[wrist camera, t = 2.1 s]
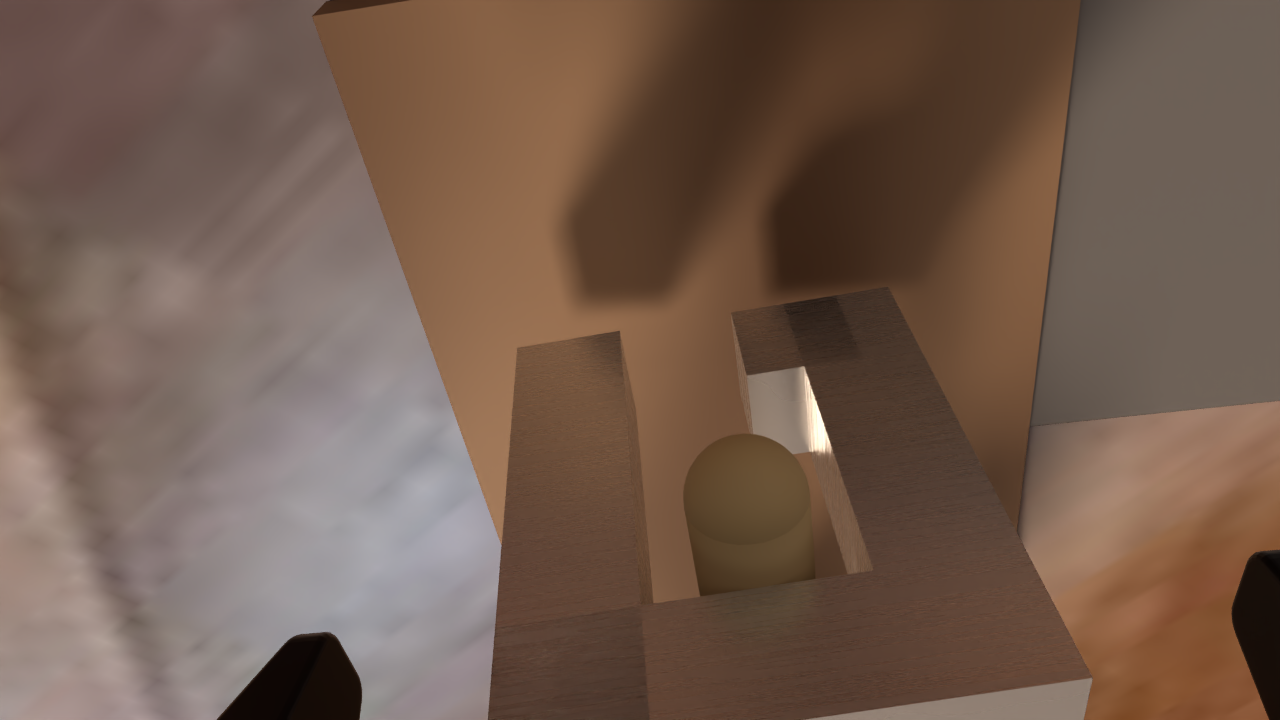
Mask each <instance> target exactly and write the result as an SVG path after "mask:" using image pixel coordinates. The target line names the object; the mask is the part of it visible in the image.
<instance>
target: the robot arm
mask: <svg viewBox="0 0 1280 720" xmlns="http://www.w3.org/2000/svg"><path fill="white" fill-rule="evenodd" d="M1232 622H1233V627H1234V630H1235V633H1236V636H1237V639H1238V641H1239V644H1240V646H1241V649H1242V652H1243V654H1244V657H1245V659H1246V662H1247V664H1248V667H1249V670H1250V672H1251V675H1252V677H1253V680H1254V682H1255V685H1256V688H1257V690H1258V693H1259V695H1260V698H1261V700H1262V703H1263V706H1264V708H1265V711H1266V713H1267V716H1268V718H1269V720H1280V550H1270V551H1260V552H1256V553H1254V554H1253V555H1252V556H1251V557H1250V558H1249V559H1248V561H1247V564H1246V567H1245V570H1244V573H1243V575H1242V578H1241V581H1240V584H1239V587H1238V590H1237V593H1236V596H1235V599H1234V602H1233V606H1232ZM361 703H362V687H361V682H360V678H359V676H358V674H357V672H356V670H355V668H354V667H353V665H352V663H351V661H350V660H349V658H348V656H347V654H346V652H345V651H344V649H343V647H342V645H341V644H340V642H339V640H338V639H337V637H336V636H335V635H333V634H331V633H330V632H321V633H309V634H300V635H296V636H294V637H292V638H291V639H289V640H288V641H287V642H286V643H285V644H284V645H283V646H282V647H281V648H280V649H279V651H278V652H277V653H276V654H275V655H274V656H273V657H272V658H271V659H270V661H269V662H268V663H267V664H266V665H265V666H264V667H263V668H262V670H261V671H260V672H259V673H258V674H257V675H256V676H255V677H254V678H253V680H252V681H251V682H250V683H249V684H248V685H247V686H246V687H245V688H244V690H243V691H242V692H241V693H240V694H239V695H238V696H237V697H236V699H235V700H234V701H233V702H232V703H231V704H230V705H229V706H228V707H227V709H226V710H225V711H224V712H223V713H222V714H221V715H220V716H219V717H218V719H217V720H359V719H360V711H361Z"/></svg>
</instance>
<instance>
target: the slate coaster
mask: <svg viewBox="0 0 1280 720" xmlns="http://www.w3.org/2000/svg"><path fill="white" fill-rule="evenodd" d="M1272 401H1280V0H1081V2H1080V10H1079V18H1078V27H1077V35H1076V43H1075V52H1074V60H1073V68H1072V77H1071V85H1070V93H1069V101H1068V110H1067V118H1066V126H1065V135H1064V143H1063V151H1062V160H1061V168H1060V176H1059V184H1058V193H1057V201H1056V209H1055V218H1054V226H1053V234H1052V243H1051V251H1050V259H1049V268H1048V276H1047V284H1046V292H1045V301H1044V309H1043V317H1042V326H1041V334H1040V342H1039V351H1038V359H1037V367H1036V376H1035V384H1034V392H1033V400H1032V409H1031V417H1030V425H1029V427H1030V426H1040V425H1049V424H1059V423H1069V422H1078V421H1088V420H1098V419H1107V418H1117V417H1127V416H1137V415H1146V414H1156V413H1166V412H1175V411H1185V410H1195V409H1204V408H1214V407H1224V406H1233V405H1243V404H1253V403H1263V402H1272Z"/></svg>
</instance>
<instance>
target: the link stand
mask: <svg viewBox="0 0 1280 720" xmlns="http://www.w3.org/2000/svg"><path fill="white" fill-rule="evenodd" d="M1080 2H1081V0H333V1H327V2H325V3H324V4H323V5H322V7H321V8H320V9H319V10H318V11H317V12H316V13H315V14H314V15H313V16H312V17H313V20H314V23H315V26H316V29H317V31H318V34H319V37H320V40H321V43H322V45H323V48H324V51H325V54H326V57H327V59H328V62H329V65H330V68H331V70H332V73H333V76H334V79H335V82H336V84H337V87H338V90H339V93H340V96H341V98H342V101H343V104H344V107H345V110H346V112H347V115H348V118H349V121H350V124H351V126H352V129H353V132H354V135H355V137H356V140H357V143H358V146H359V149H360V151H361V154H362V157H363V160H364V163H365V165H366V168H367V171H368V174H369V177H370V179H371V182H372V185H373V188H374V191H375V193H376V196H377V199H378V202H379V204H380V207H381V210H382V213H383V216H384V218H385V221H386V224H387V227H388V230H389V232H390V235H391V238H392V241H393V244H394V246H395V249H396V252H397V255H398V258H399V260H400V263H401V266H402V269H403V271H404V274H405V277H406V280H407V283H408V285H409V288H410V291H411V294H412V297H413V299H414V302H415V305H416V308H417V311H418V313H419V316H420V319H421V322H422V325H423V327H424V330H425V333H426V336H427V338H428V341H429V344H430V347H431V350H432V352H433V355H434V358H435V361H436V364H437V366H438V369H439V372H440V375H441V378H442V380H443V383H444V386H445V389H446V392H447V394H448V397H449V400H450V403H451V405H452V408H453V411H454V414H455V417H456V419H457V422H458V425H459V428H460V431H461V433H462V436H463V439H464V442H465V445H466V447H467V450H468V453H469V456H470V459H471V461H472V464H473V467H474V470H475V472H476V475H477V478H478V481H479V484H480V486H481V489H482V492H483V495H484V498H485V500H486V503H487V506H488V509H489V512H490V514H491V517H492V520H493V523H494V526H495V528H496V531H497V534H498V537H499V540H500V542H501V545H502V535H503V522H504V509H505V497H506V484H507V471H508V458H509V446H510V433H511V420H512V408H513V395H514V382H515V370H516V357H517V348H518V347H524V346H530V345H536V344H542V343H548V342H554V341H560V340H567V339H573V338H579V337H585V336H591V335H597V334H603V333H609V332H615V331H620V334H621V339H622V344H623V349H624V354H625V358H626V363H627V368H628V373H629V378H630V383H631V387H632V392H633V397H634V402H635V407H636V413H637V424H638V435H639V446H640V457H641V468H642V480H643V491H644V502H645V513H646V524H647V535H648V546H649V557H650V568H651V579H652V590H653V601H654V603H661V602H668V601H674V600H681V599H687V598H694V597H701V596H707V595H714V594H721V593H727V592H734V591H740V590H747V589H754V588H760V587H767V586H773V585H780V584H787V583H793V582H800V581H806V580H813V579H820V578H826V577H833V576H839V575H846V574H848V573H847V570H846V567H845V564H844V560H843V557H842V554H841V551H840V547H839V544H838V541H837V538H836V535H835V531H834V528H833V525H832V522H831V518H830V515H829V512H828V509H827V506H826V502H825V499H824V496H823V493H822V489H821V486H820V483H819V480H818V476H817V473H816V470H815V467H814V464H813V460H812V457H811V454H810V452H805V453H798V454H792V453H791V452H790V451H789V450H788V449H787V448H785V447H784V446H783V445H781V444H780V443H778V442H776V441H774V440H772V439H770V438H767V437H765V436H761V435H757V434H750V432H749V428H748V423H747V419H746V415H745V411H744V407H743V402H742V398H741V394H740V386H739V378H738V369H737V361H736V352H735V344H734V336H733V327H732V319H731V312H737V311H743V310H749V309H755V308H761V307H767V306H773V305H779V304H785V303H792V302H798V301H804V300H810V299H816V298H822V297H828V296H834V295H840V294H846V293H852V292H858V291H865V290H871V289H877V288H883V287H889V289H890V291H891V293H892V295H893V297H894V299H895V301H896V303H897V305H898V307H899V308H900V310H901V312H902V314H903V316H904V318H905V320H906V322H907V324H908V326H909V328H910V329H911V331H912V333H913V335H914V337H915V339H916V341H917V343H918V345H919V347H920V349H921V351H922V352H923V354H924V356H925V358H926V360H927V362H928V364H929V366H930V368H931V370H932V372H933V373H934V375H935V377H936V379H937V381H938V383H939V385H940V387H941V389H942V391H943V393H944V394H945V396H946V398H947V400H948V402H949V404H950V406H951V408H952V410H953V412H954V414H955V416H956V417H957V419H958V421H959V423H960V425H961V427H962V429H963V431H964V433H965V435H966V437H967V438H968V440H969V442H970V444H971V446H972V448H973V450H974V452H975V454H976V456H977V458H978V459H979V461H980V463H981V465H982V467H983V469H984V471H985V473H986V475H987V477H988V479H989V481H990V482H991V484H992V486H993V488H994V490H995V492H996V494H997V496H998V498H999V500H1000V502H1001V503H1002V505H1003V507H1004V509H1005V511H1006V513H1007V515H1008V517H1009V519H1010V521H1011V523H1012V524H1013V526H1014V528H1015V530H1016V532H1017V525H1018V517H1019V508H1020V500H1021V492H1022V484H1023V475H1024V467H1025V459H1026V450H1027V442H1028V434H1029V425H1030V417H1031V409H1032V400H1033V392H1034V384H1035V376H1036V367H1037V359H1038V351H1039V342H1040V334H1041V326H1042V317H1043V309H1044V301H1045V292H1046V284H1047V276H1048V268H1049V259H1050V251H1051V243H1052V234H1053V226H1054V218H1055V209H1056V201H1057V193H1058V184H1059V176H1060V168H1061V160H1062V151H1063V143H1064V135H1065V126H1066V118H1067V110H1068V101H1069V93H1070V85H1071V77H1072V68H1073V60H1074V52H1075V43H1076V35H1077V27H1078V18H1079V10H1080Z"/></svg>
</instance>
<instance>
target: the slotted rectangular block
mask: <svg viewBox="0 0 1280 720" xmlns="http://www.w3.org/2000/svg"><path fill="white" fill-rule="evenodd" d="M731 319H732V327H733V336H734V344H735V352H736V361H737V369H738V378H739V386H740V394H741V398H742V402H743V407H744V411H745V415H746V419H747V423H748V428H749V432H750V434H757V435H761V436H765V437H767V438H770V439H772V440H774V441H776V442H778V443H780V444H781V445H783V446H784V447H785V448H787V449H788V450H789V451H790V452H791V453H792V454H798V453H805V452H810V454H811V457H812V460H813V464H814V467H815V470H816V473H817V476H818V480H819V483H820V486H821V489H822V493H823V496H824V499H825V502H826V506H827V509H828V512H829V515H830V518H831V522H832V525H833V528H834V531H835V535H836V538H837V541H838V544H839V547H840V551H841V554H842V557H843V560H844V564H845V567H846V570H847V573H848V574H846V575H839V576H833V577H826V578H820V579H813V580H806V581H800V582H793V583H787V584H780V585H773V586H767V587H760V588H754V589H747V590H740V591H734V592H727V593H721V594H714V595H707V596H701V597H694V598H687V599H681V600H674V601H668V602H661V603H654V601H653V590H652V579H651V568H650V557H649V546H648V535H647V524H646V513H645V502H644V491H643V480H642V468H641V457H640V446H639V435H638V424H637V413H636V407H635V402H634V397H633V392H632V387H631V383H630V378H629V373H628V368H627V363H626V358H625V354H624V349H623V344H622V339H621V334H620V331H615V332H609V333H603V334H597V335H591V336H585V337H579V338H573V339H567V340H560V341H554V342H548V343H542V344H536V345H530V346H524V347H518V348H517V357H516V370H515V382H514V395H513V408H512V420H511V433H510V446H509V458H508V471H507V484H506V497H505V509H504V522H503V535H502V547H501V560H500V573H499V585H498V598H497V611H496V624H495V636H494V649H493V662H492V674H491V687H490V700H489V712H488V720H1084V715H1085V711H1086V706H1087V702H1088V697H1089V693H1090V688H1091V684H1092V679H1093V677H1092V676H1091V674H1090V672H1089V670H1088V668H1087V666H1086V664H1085V662H1084V660H1083V658H1082V656H1081V654H1080V653H1079V651H1078V649H1077V647H1076V645H1075V643H1074V641H1073V639H1072V637H1071V635H1070V633H1069V632H1068V630H1067V628H1066V626H1065V624H1064V622H1063V620H1062V618H1061V616H1060V614H1059V612H1058V611H1057V609H1056V607H1055V605H1054V603H1053V601H1052V599H1051V597H1050V595H1049V593H1048V591H1047V589H1046V588H1045V586H1044V584H1043V582H1042V580H1041V578H1040V576H1039V574H1038V572H1037V570H1036V568H1035V567H1034V565H1033V563H1032V561H1031V559H1030V557H1029V555H1028V553H1027V551H1026V549H1025V547H1024V546H1023V544H1022V542H1021V540H1020V538H1019V536H1018V534H1017V532H1016V530H1015V528H1014V526H1013V524H1012V523H1011V521H1010V519H1009V517H1008V515H1007V513H1006V511H1005V509H1004V507H1003V505H1002V503H1001V502H1000V500H999V498H998V496H997V494H996V492H995V490H994V488H993V486H992V484H991V482H990V481H989V479H988V477H987V475H986V473H985V471H984V469H983V467H982V465H981V463H980V461H979V459H978V458H977V456H976V454H975V452H974V450H973V448H972V446H971V444H970V442H969V440H968V438H967V437H966V435H965V433H964V431H963V429H962V427H961V425H960V423H959V421H958V419H957V417H956V416H955V414H954V412H953V410H952V408H951V406H950V404H949V402H948V400H947V398H946V396H945V394H944V393H943V391H942V389H941V387H940V385H939V383H938V381H937V379H936V377H935V375H934V373H933V372H932V370H931V368H930V366H929V364H928V362H927V360H926V358H925V356H924V354H923V352H922V351H921V349H920V347H919V345H918V343H917V341H916V339H915V337H914V335H913V333H912V331H911V329H910V328H909V326H908V324H907V322H906V320H905V318H904V316H903V314H902V312H901V310H900V308H899V307H898V305H897V303H896V301H895V299H894V297H893V295H892V293H891V291H890V289H889V287H883V288H877V289H871V290H865V291H858V292H852V293H846V294H840V295H834V296H828V297H822V298H816V299H810V300H804V301H798V302H792V303H785V304H779V305H773V306H767V307H761V308H755V309H749V310H743V311H737V312H731Z"/></svg>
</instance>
